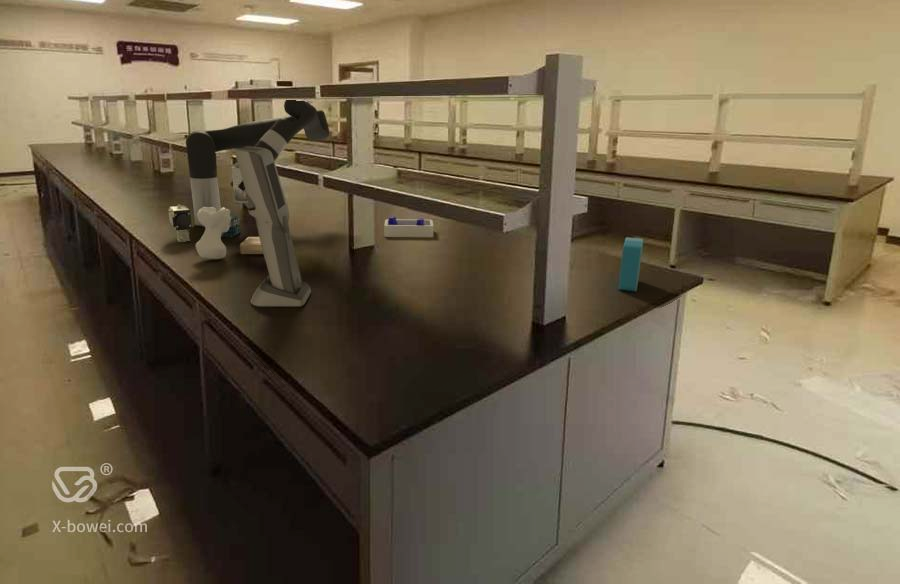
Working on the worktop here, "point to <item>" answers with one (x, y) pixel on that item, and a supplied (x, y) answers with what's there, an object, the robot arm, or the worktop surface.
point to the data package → (630, 264)
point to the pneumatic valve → (180, 221)
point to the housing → (239, 195)
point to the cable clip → (393, 222)
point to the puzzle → (233, 227)
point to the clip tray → (408, 228)
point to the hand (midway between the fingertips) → (236, 187)
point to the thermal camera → (271, 230)
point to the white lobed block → (213, 232)
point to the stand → (251, 246)
